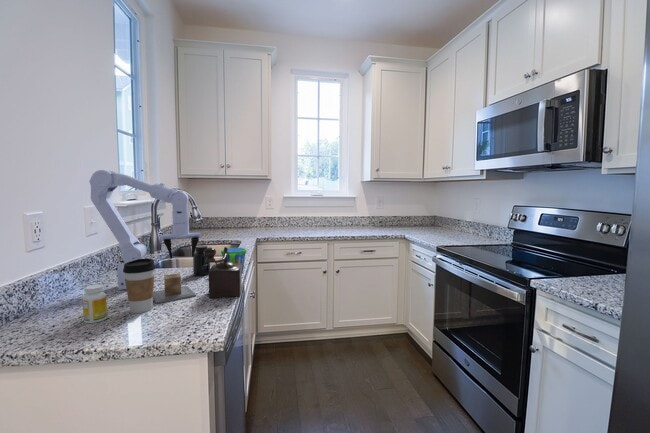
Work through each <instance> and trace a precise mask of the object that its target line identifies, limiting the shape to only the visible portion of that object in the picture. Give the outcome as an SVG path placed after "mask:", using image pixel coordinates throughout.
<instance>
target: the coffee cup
mask: <svg viewBox="0 0 650 433" xmlns="http://www.w3.org/2000/svg"><path fill="white" fill-rule="evenodd" d="M155 266H156V265H155V262H154V259H153V258H150V257H148V258H147V257H144V259H137V260H133V261H130V262H127V263H125V264H124V269H123V272H124V273H125V283H126V289H125V290H126V295H127V300H128V307H129V312H130V313H133V314H141V313H146V312H150V311H151V310H152V309H153V306H154V302H153V301H154V298H153V292H154V287H155V286H154V285H155V273H154V271H155V269H156V267H155Z"/></svg>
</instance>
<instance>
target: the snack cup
mask: <svg viewBox="0 0 650 433" xmlns="http://www.w3.org/2000/svg"><path fill="white" fill-rule="evenodd" d="M227 248H228V247H227ZM227 251H228V253H227V261H228V262H231V263H234V264H242V267H241V269H242V273H243V272H244V268H245V260H246V254H247V248H245V247H229V248H228V250H227ZM220 253H221V255H222V257H223V256H224V248H223V249H221V252H220Z"/></svg>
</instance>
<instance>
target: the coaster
mask: <svg viewBox="0 0 650 433" xmlns="http://www.w3.org/2000/svg"><path fill="white" fill-rule="evenodd" d="M194 297H197V294H196V293H195V292H194V291H193V290H192V289H191V288H190V287H189V286H187V285H184V286H181V294H178V295H171V296H165V289H161V290H156V291H154V290H153V301H155V303H156V304H157V305H159V304H164V303H169V302H174V301H178V300H184V299H190V298H194Z"/></svg>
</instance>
